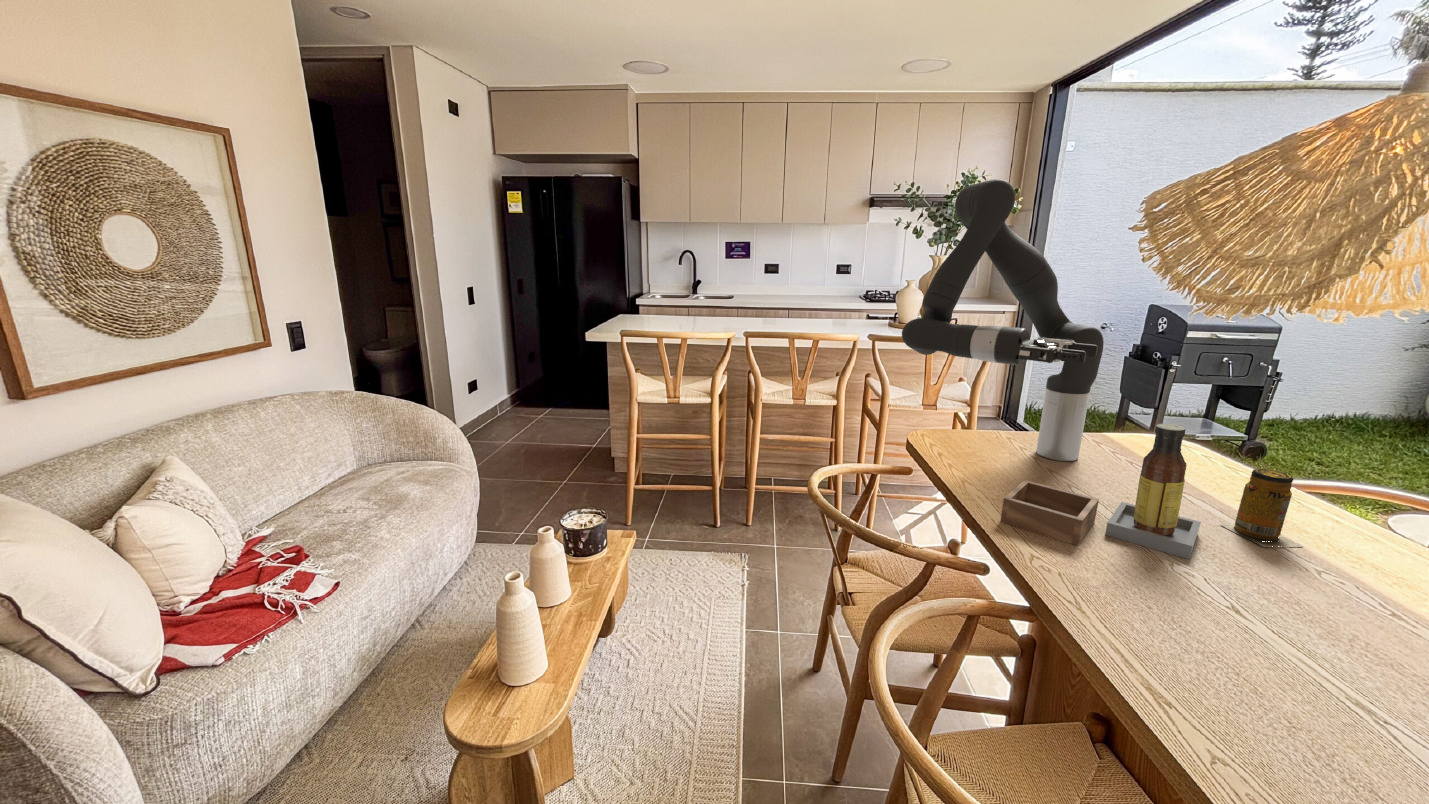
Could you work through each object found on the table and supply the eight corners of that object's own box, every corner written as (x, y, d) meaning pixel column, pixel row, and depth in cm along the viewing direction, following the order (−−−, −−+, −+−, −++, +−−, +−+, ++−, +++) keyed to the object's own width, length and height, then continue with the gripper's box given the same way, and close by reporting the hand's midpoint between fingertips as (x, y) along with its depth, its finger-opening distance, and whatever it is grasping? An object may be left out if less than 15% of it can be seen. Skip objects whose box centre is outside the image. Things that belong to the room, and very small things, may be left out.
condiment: (1256, 524, 104) (1272, 465, 101) (1303, 547, 96) (1323, 484, 93) (1218, 525, 104) (1234, 466, 101) (1263, 548, 96) (1281, 485, 93)
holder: (1021, 501, 115) (1024, 479, 113) (1094, 522, 106) (1098, 499, 104) (1000, 521, 107) (1003, 498, 105) (1077, 546, 98) (1082, 520, 96)
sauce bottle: (1172, 526, 102) (1196, 425, 96) (1176, 541, 97) (1201, 434, 91) (1129, 517, 105) (1149, 419, 100) (1130, 531, 100) (1152, 428, 95)
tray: (1119, 513, 109) (1121, 501, 109) (1197, 534, 101) (1200, 521, 100) (1105, 534, 101) (1107, 522, 101) (1189, 559, 93) (1192, 546, 92)
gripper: (988, 330, 108) (1084, 338, 96) (1013, 323, 117) (1103, 329, 106) (983, 367, 110) (1077, 380, 98) (1009, 357, 119) (1097, 367, 108)
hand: (1091, 354), depth 102 cm, fingers open, 8 cm apart
